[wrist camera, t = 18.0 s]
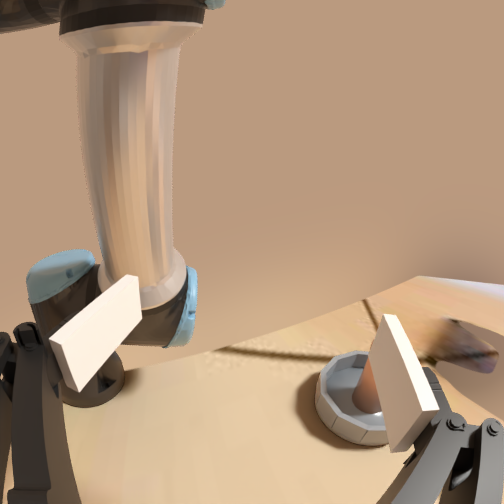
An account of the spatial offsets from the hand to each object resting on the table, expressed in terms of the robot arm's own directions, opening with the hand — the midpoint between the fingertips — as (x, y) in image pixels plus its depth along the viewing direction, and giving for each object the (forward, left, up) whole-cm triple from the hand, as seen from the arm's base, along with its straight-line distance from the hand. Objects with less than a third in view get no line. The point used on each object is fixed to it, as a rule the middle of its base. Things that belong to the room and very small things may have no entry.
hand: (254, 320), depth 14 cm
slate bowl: (-10, +28, -30) cm, 43 cm away
